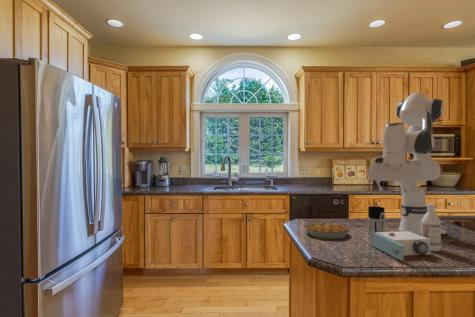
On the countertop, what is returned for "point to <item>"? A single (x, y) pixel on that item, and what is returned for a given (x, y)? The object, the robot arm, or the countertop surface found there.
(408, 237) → the knobbed cream box
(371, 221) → the grey mug
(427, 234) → the bath foam
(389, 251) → the side door
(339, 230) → the pie
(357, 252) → the countertop surface
